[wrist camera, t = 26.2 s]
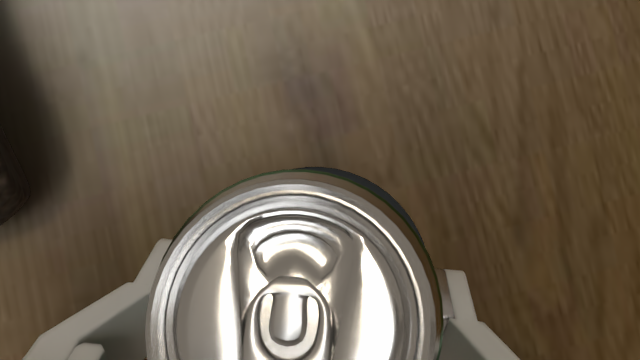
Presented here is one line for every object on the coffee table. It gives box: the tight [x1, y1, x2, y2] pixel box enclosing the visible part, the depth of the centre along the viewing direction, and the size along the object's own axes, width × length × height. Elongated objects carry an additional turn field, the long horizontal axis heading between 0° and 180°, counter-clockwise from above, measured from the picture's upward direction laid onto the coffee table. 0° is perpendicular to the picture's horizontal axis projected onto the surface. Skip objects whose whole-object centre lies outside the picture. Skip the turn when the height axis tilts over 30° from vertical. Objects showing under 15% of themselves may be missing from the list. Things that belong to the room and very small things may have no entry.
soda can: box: [145, 169, 444, 360], centre depth 12 cm, size 5×5×12 cm
